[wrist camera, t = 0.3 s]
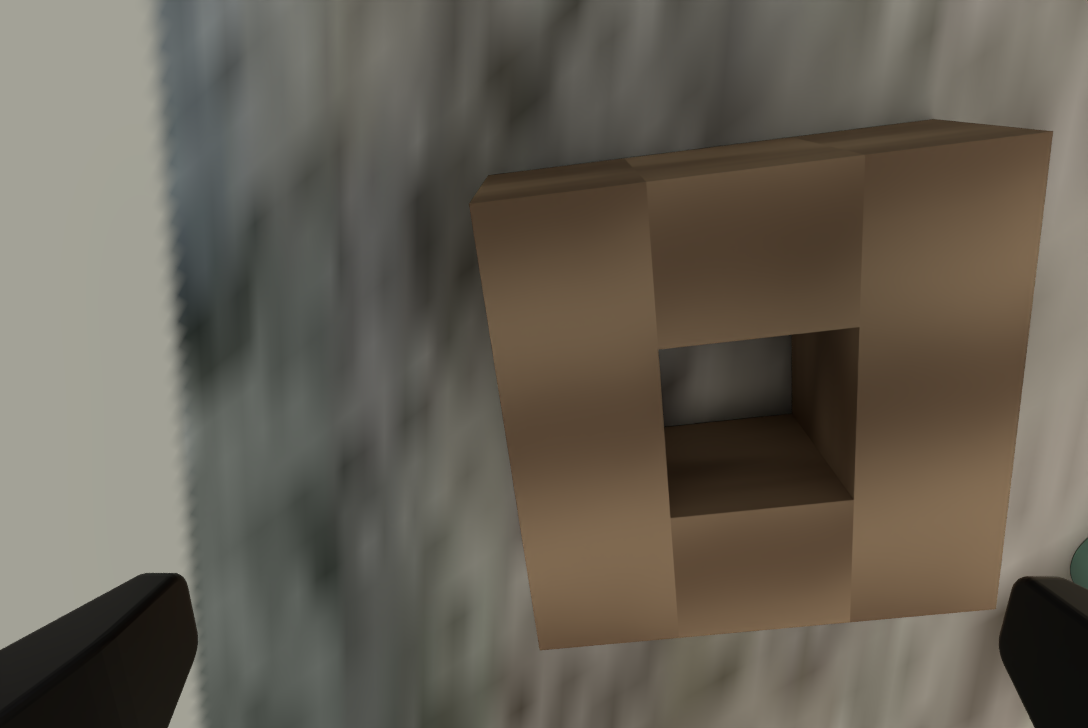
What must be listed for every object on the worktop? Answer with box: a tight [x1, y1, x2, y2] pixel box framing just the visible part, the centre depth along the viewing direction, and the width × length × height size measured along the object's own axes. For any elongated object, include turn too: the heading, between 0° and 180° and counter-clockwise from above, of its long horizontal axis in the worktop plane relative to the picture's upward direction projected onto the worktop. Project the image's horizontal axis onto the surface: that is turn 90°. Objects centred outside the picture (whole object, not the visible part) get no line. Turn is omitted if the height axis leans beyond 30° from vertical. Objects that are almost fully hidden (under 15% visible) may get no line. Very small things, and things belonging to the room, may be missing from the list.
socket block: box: [469, 119, 1053, 650], centre depth 20 cm, size 12×12×5 cm
